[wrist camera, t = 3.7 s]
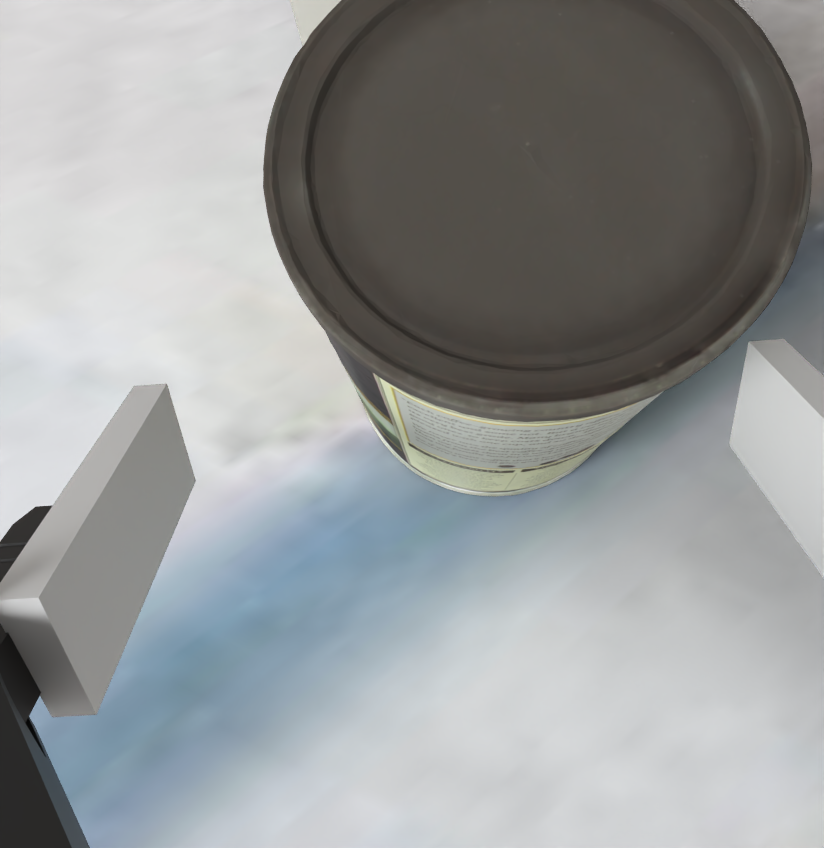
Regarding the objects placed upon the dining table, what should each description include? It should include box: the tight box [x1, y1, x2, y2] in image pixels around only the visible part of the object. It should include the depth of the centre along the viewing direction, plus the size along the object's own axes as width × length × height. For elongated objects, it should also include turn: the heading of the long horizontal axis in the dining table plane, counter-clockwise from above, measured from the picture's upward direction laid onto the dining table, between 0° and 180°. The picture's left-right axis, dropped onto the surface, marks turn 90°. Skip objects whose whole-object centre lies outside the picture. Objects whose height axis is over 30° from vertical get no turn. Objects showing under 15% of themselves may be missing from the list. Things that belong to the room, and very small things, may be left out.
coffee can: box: [263, 0, 812, 496], centre depth 20 cm, size 10×10×14 cm
